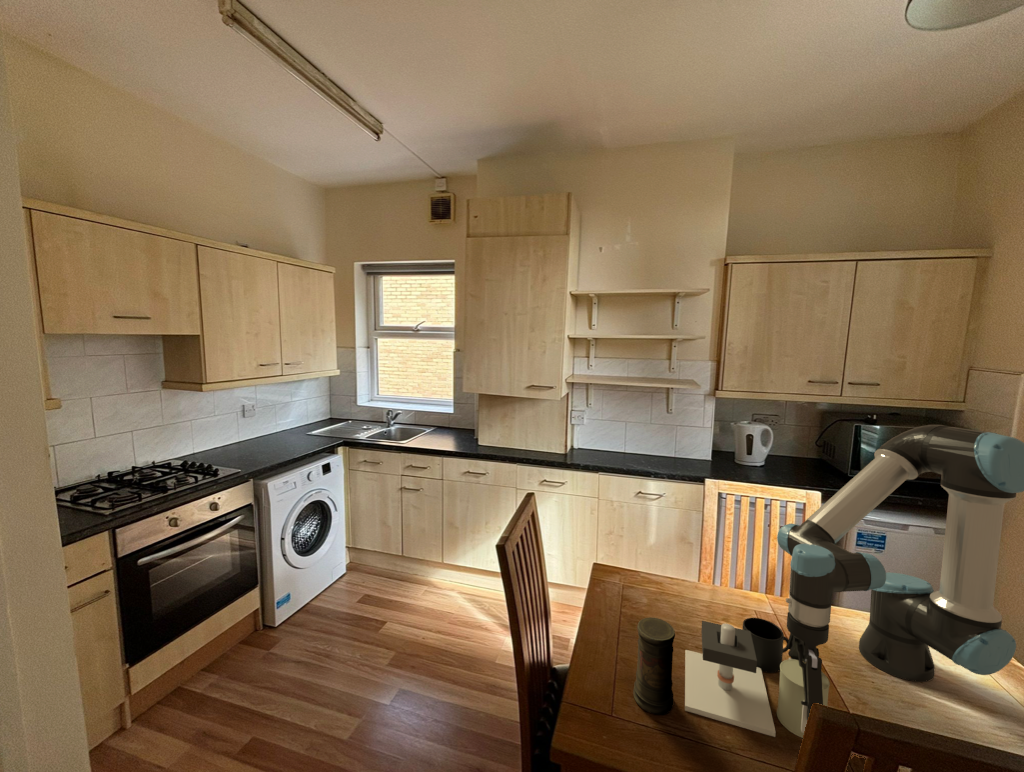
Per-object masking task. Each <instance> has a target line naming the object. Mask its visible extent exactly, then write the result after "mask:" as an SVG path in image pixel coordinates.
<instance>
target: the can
mask: <svg viewBox="0 0 1024 772" xmlns="http://www.w3.org/2000/svg"><path fill="white" fill-rule="evenodd" d="M803 663H805V664H806V662H803ZM821 672H822V692H823V705H825V706H827V707H828V703H829V701H828V700H829V691H830V690H829V688H830V685H831V683H830V680H829V678H828V677H827V675H826V674H825V673H824V672H823V671H822V670H821ZM778 686H779V688H778V699H777V702H778V703H777V709H776V716H777V719H778V721H779V722H780V724H782V725H783V727H784V728H786V729H787V730H788V732H790V733H792V734H794V735H795V736H798V737H799V738H802V739H804V738H803V735H804V733H802V732H801V720H802V707H803V705H802V704H801V701H805V696H804V685H803V674H802V668H801V667H800V666H799V660H793V659H789V658H788V659H785V660H782V662H781V664H780V670H779V685H778Z"/></svg>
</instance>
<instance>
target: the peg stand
mask: <svg viewBox="0 0 1024 772" xmlns="http://www.w3.org/2000/svg"><path fill="white" fill-rule="evenodd" d="M720 625H721V641H720V643H721V644H725V645H730V646H734V643H735V628H736V627H735V626H734V625H732V624H729V623H722V624H720ZM684 651H685V652H684V653H685V654H684V657H685V659H684V667H685V668H684V711H685V712H689V713H691V714H695V715H699V716H702V717H706V718H709V719H712V720H716V721H719V722H723V723H726V724H729V725H733V726H737V727H740V728H743V729H747V730H750V731H753V732H756V733H759V734H763V735H767V736H770V737H774V738H776V728H775V724H774V719H773V715H772V710H771V706H770V702H769V698H768V697H769V696H768V694H767V689H766V683H765V681H764V676H763V671H761V668H758V667H757V669H756V673H753V672H749V671H745V670H741V669H737V668H733V667H729V666H725V665H721V664H717V663H713V662H709V661H705V660H703V653H700V652H697V651H693V650H688V649H685V650H684Z"/></svg>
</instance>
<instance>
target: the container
mask: <svg viewBox="0 0 1024 772" xmlns="http://www.w3.org/2000/svg"><path fill="white" fill-rule="evenodd" d="M636 628H637V629H636V630H637V633H638V639H637V664H636V673H635V677H636V679H635V681H634V683H633V685H634V686H633V698H634V700H635V702H636V704H637V705H638V706H639V707H640V708H641V709H642V710H645V711H646V712H647V713H650V714H653V715H658V716H659V715H661V716H662V715H666V714H668V713H670V712H671V711H672V709H673V708H674V705H675V703H674V702H675V701H674V692H673V685H674V684H673V678H672V677H673V659H674V658H673V657H674V642H675V638H676V632H675V629H674V627H673V626H672V625H671V624H670V623H669V622H667V621H665V620H664V619H661V618H658V617H653V616H651V617H644V618H641V620H639V622H638V623H637V627H636Z"/></svg>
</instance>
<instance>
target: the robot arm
mask: <svg viewBox="0 0 1024 772" xmlns="http://www.w3.org/2000/svg"><path fill="white" fill-rule="evenodd" d="M873 454H874V455H873V456H874V458H873V460H871V461H870V462H869V463H868V464H866V465H865V466H864V467H863V468H862V469H861V470H860V471H859V472H858V473H857V474H856V475H855V476H853V478H851V479H850V480H849V481H848V482H847V483H845V484H844V486H842V487H841V488H840V489H839V490H838V491H837V492H836V493H834V495H832V497H830V498H829V499H828V500H826V502H825V503H824V504H822V505H821V506H820V507H819V508H818V509H816V511H815V512H813V513H812V514H811V515H810V516H809V517H808V518H807V519H805V521H803V522H802V523H801V524H800V525H799V524H796V523H788V524H784V525H783V526H782V527H780V529H779V530H778V532H777V536H776V539H777V540H776V541H777V543H778V545H779V548H780V549H782V550H783V551H784V552H785V553H786V554H788V555H790V556H791V560H790V564H789V565H790V576H789V577H790V578H789V592H788V594H789V598H785V602H786V603H787V605H788V609H787V610H788V612H787V617H786V628H787V631H788V632H789V637H788V643H787V642H786V645H787V648H788V649H789V650H788V651H787V652H788V653H787V654H788V660H789V659H793V660H799V666H800V667H801V668H802V674H803V685H804V696H805V701H801V704H802V705H803V707H802V720H801V732H802V733H804V731H805V727H806V724H807V720H808V717H809V713H810V709H811V706H812V704H813V703H819V704H822V705H823V692H822V672H823V671H822V667H823V665H822V664H823V660H822V657H820V650H819V648H817V647H818V646H821V645H824V644H826V643H827V642H828V641H829V632H830V624H831V623H830V622H831V613H832V598H833V597H832V596H833V593H843V592H844V593H847V592H867V591H868V592H869V591H870V590H871V591H870V606H869V608H870V609H869V622H868V625H867V627H866V628H865V630H864V632H863V633H862V635H861V636H860V637H859V638H860V639H859V641H858V651H859V653H860V655H861V656H862V657H863V658H864V659H865V660H866V661H867V662H868V663H870V664H871V665H872V666H874V667H876V668H878V669H879V670H880V671H882V672H885V673H887V674H890V675H892V676H893V677H897V678H899V679H902V680H907V681H910V682H917V683H925V682H931V681H932V680H933V679H934V677H935V672H936V671H935V670H936V667H935V665H936V664H935V662H934V659H933V656H932V652H931V651H930V648H931V649H933V650H934V651H936V652H938V653H939V654H941V655H942V656H944V657H945V658H948V659H949V660H951V661H952V662H953V663H954V664H955V665H958V666H960V667H962V668H964V669H966V670H967V671H969V672H970V673H974V674H976V675H981V676H989V675H992V674H995V673H998V672H999V671H1002V670H1003V669H1004V668H1005V667H1006V666H1007V665H1008V664H1010V662H1011V660H1012V659H1013V657H1014V655H1015V652H1016V651H1017V642H1016V640H1015V638H1014V636H1013V635H1012V634H1011V633H1010V632H1009V631H1007V630H1005V629H1003V628H1002V625H1003V624H1002V623H1003V615H1002V614H1001V612H1000V611H998V610H997V608H996V607H994V601H995V600H994V599H995V591H996V583H997V573H998V565H999V564H998V563H999V557H1000V547H1001V538H1002V531H1003V530H1002V529H1003V520H1004V519H1003V518H1004V512H1005V511H1004V510H1005V504H1006V503H1009V502H1011V501H1014V500H1015V499H1017V494H1019V493H1023V492H1024V442H1023V441H1022V440H1021V439H1019V438H1016V437H1013V436H1009V435H1003V434H999V433H997V432H991V431H985V430H984V431H983V430H978V429H977V430H976V429H968V428H961V427H954V426H948V425H943V424H927V425H921V426H917V427H914V428H911V429H908V430H906V431H904V432H901V433H899V434H898V435H896V436H894V437H892V438H890V439H889V440H887V441H886V442H885V443H883V444H882V445H881V446H880V447H879V448H877V450H875V452H874V453H873ZM929 472H932V473H935V474H938V475H941V478H940V486H941V488H943V490H945V491H946V492H947V494H948V501H947V513H946V519H945V520H946V521H945V531H944V540H943V550H942V551H943V552H942V561H941V570H940V581H939V589H938V590H936V591H934V590H935V589H934V588H933V585H932V584H931V583H930V582H928V581H926V580H925V579H923V578H920V577H917V576H913V575H911V574H910V575H909V574H904V573H899V572H889V571H887V572H886V568H885V567H884V565H883V564H882V562H881V560H879V558H877V557H876V556H875V555H873V554H871V553H868V552H860V551H856V552H851V551H848V550H847V549H845V548H843V547H841V546H839V545H837V543H838V542H839V541H840V540H841V539H842V538H843V537H844V536H846V534H847V533H849V532H850V531H851V530H852V529H853V528H854V527H856V525H858V524H859V522H861V521H862V520H863V519H864V518H865V517H867V516H868V514H870V513H871V512H872V511H873V510H874V509H875V508H877V506H879V505H880V504H881V503H882V502H883V501H884V500H885V499H887V497H889V496H890V495H891V494H892V493H893V492H894V491H895V490H896V489H898V488H899V487H900V486H901V485H902V484H903V483H905V481H907V480H916V479H917V478H918V477H919V476H920V475H921V474H924V473H929ZM803 662H806V664H805V663H803ZM821 671H822V672H821Z"/></svg>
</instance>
